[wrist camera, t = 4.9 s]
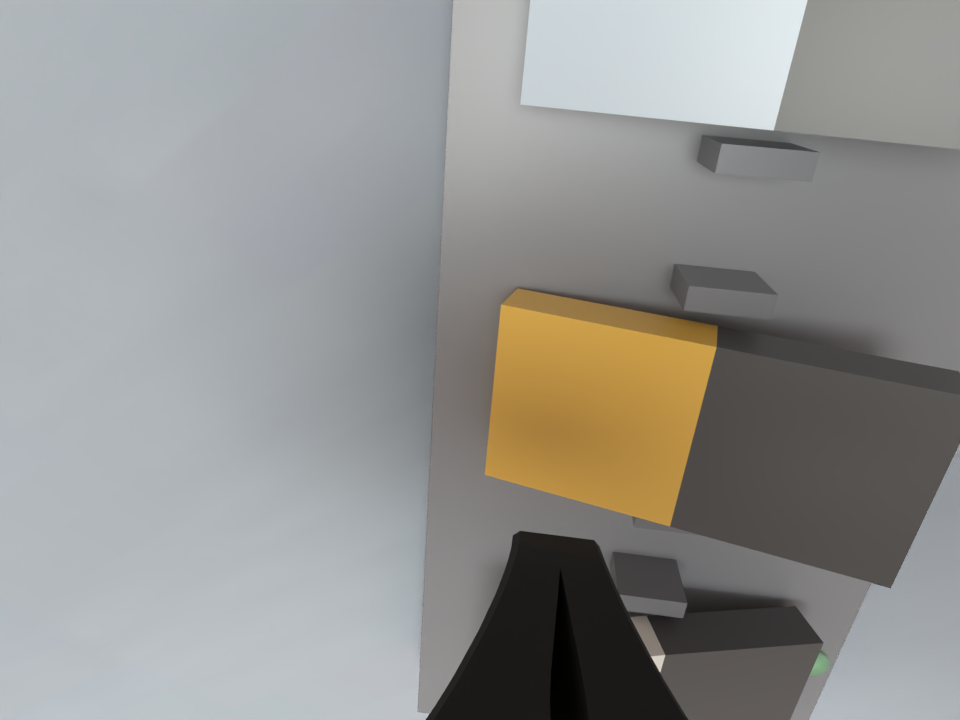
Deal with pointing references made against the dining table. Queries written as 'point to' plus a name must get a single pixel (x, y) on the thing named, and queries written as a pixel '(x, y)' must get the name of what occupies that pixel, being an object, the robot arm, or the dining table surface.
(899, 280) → the rocker switch panel
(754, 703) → the rocker
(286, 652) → the dining table surface
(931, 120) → the rocker
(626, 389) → the block
